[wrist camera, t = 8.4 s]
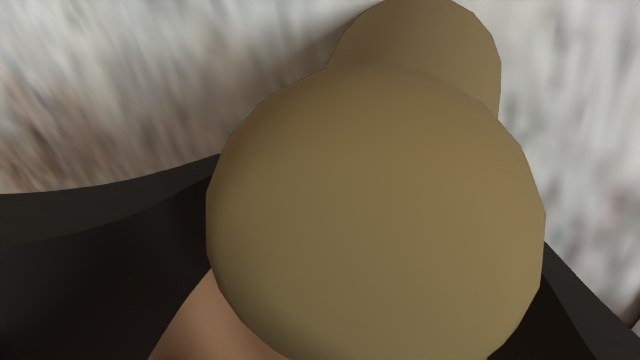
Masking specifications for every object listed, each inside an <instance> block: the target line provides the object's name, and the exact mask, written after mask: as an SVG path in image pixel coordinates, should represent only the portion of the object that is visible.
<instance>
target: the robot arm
mask: <svg viewBox="0 0 640 360" xmlns="http://www.w3.org/2000/svg"><path fill="white" fill-rule="evenodd" d="M220 155H221V153H220V154H217V155H213V156H210V157H207V158H204V159H201V160H198V161H195V162H191V163H188V164H185V165H182V166H179V167H176V168H172V169H168V170H165V171H161V172H157V173H154V174H150V175H146V176H143V177H139V178H134V179H130V180H125V181H120V182H115V183H110V184H104V185H98V186H92V187H83V188H75V189H67V190H59V191H49V192H35V193H17V194H0V360H148V358H149V356H150V355H151V353H152V351H153V350H154V348H155V347H156V345H157V343H158V342H159V340H160V338H161V337H162V335H163V334H164V332H165V330H166V329H167V327H168V326H169V324H170V323H171V321H172V320H173V318H174V316H175V315H176V313H177V312H178V310H179V309H180V307H181V306H182V304H183V303H184V302H185V300H186V299H187V298H188V296H189V295H190V294H191V292H192V291H193V290H194V289H195V287H196V286H197V285H198V284H199V282H200V281H201V280H202V279H203V278H204V276H205V275H206V274H207V273H208V271H209V270H210V269H211V265H210V262H209V259H208V257H207V250H206V192H207V189H208V187H209V184H210V181H211V179H212V176H213V173H214V171H215V168H216V166H217V163H218V160H219V158H220ZM487 360H640V319H639V321H638V322H637V323H636V324H635V326H634V327H633V328H632V329H630V328H629V327H628V326H626V325H625V324H624V323H623V322H622V321H621V320H620V319H619V318H618V317H617V316H616V315H615V314H614V313H613V312H612V311H611V310H610V309H609V308H608V307H607V306H606V305H605V304H604V303H603V302H602V301H601V300H600V299H599V298H598V297H597V296H596V295H595V294H594V293H593V292H592V291H591V290H590V289H589V288H588V287H587V286H586V285H585V284H584V283H583V282H582V281H581V280H580V279H579V278H578V277H577V276H576V274H575V273H574V272H573V271H572V270H571V269H570V268H569V267H568V266H567V265H566V264H565V263H564V261H563V260H562V259H561V258H560V257H559V256H558V255H557V254H556V253H555V252H554V251H553V250H552V248H551V247H550V246H549V245H548V244H547V243H546V242H545V241H544V247H543V261H542V270H541V279H540V287H539V289H538V291H537V292H536V294H535V296H534V298H533V300H532V302H531V303H530V305H529V307H528V309H527V311H526V312H525V314H524V316H523V318H522V320H521V322H520V323H519V325H518V327H517V328H516V329H515V331H514V332H513V333H512V334H511V335H510V337H509V338H508V339H507V340H506V341H505V343H504V344H503V345H502V346H501V347H499V348H498V349H497V350H496V351H494V352H493V353H492V354H491V355H489V356H488V357H487Z"/></svg>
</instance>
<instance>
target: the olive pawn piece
mask: <svg viewBox="0 0 640 360" xmlns="http://www.w3.org/2000/svg"><path fill="white" fill-rule="evenodd" d="M500 93H501V60H500V57H499V54H498V52H497V49H496V46H495V43H494V40H493V37H492V35H491V34H490V32H489V31H488V30H487V29H486V28H485V26H484V25H483V24H482V23H481V22H480V20H479V19H478V18H477V17H476V15H475V14H474V13H473V12H471V11H469V10H467V9H466V8H464V7H462V6H460V5H459V4H457V3H455V2H453V1H452V0H385V1H383V2H381V3H379V4H377V5H375V6H373V7H371V8H370V9H368V10H366V11H364V12H363V13H362V14H361V15H360V16H359V17H358V18H357V19H356V20H355V21H354V22H353V23H352V24H351V25H350V26H349V27H348V28H347V29H346V30H345V32H344V33H343V35H342V37H341V39H340V41H339V42H338V44H337V46H336V48H335V50H334V52H333V54H332V56H331V58H330V59H329V61H328V63H327V65H326V67H325V69H321V70H319V71H317V72H315V73H313V74H311V75H309V76H307V77H305V78H303V79H301V80H299V81H297V82H295V83H293V84H291V85H289V86H287V87H285V88H283V89H281V90H278V91H277V92H275V93H274V94H272V95H271V96H269V97H268V98H266V99H265V100H263V101H262V102H261V103H260V104H259V105H258V106H257V108H256V109H255V110H254V111H253V112H252V113H251V114H250V115H249V116H248V117H247V118H246V119H245V120H244V122H243V123H242V124H241V125H240V126H239V127H238V128H237V129H236V130H235V131H234V132H233V133H232V134H231V136H230V138H229V140H228V141H227V143H226V145H225V147H224V149H223V151H222V153H221V155H220V158H219V160H218V163H217V166H216V168H215V171H214V173H213V176H212V179H211V181H210V184H209V187H208V189H207V192H206V250H207V257H208V259H209V262H210V265H211V268H212V271H213V274H214V277H215V280H216V283H217V285H218V288H219V290H220V292H221V293H222V295H223V296H224V298H225V299H226V301H227V302H228V303H229V305H230V306H231V308H232V309H233V311H234V312H235V313H236V315H237V316H238V318H239V319H240V321H241V322H242V323H243V324H244V325H245V326H247V327H248V328H249V329H250V330H251V331H252V332H253V333H254V334H255V335H257V336H258V337H259V338H260V339H261V340H262V341H263V342H264V343H265V344H266V345H268V346H269V347H270V348H271V349H273V350H274V351H276V352H278V353H279V354H281V355H283V356H285V357H286V358H288V359H290V360H484V359H486V358H487V357H488V356H489V355H491V354H492V353H493V352H494V351H496V350H497V349H498V348H499V347H501V346H502V345H503V344H504V343H505V341H506V340H507V339H508V338H509V337H510V335H511V334H512V333H513V332H514V331H515V329H516V328H517V327H518V325H519V323H520V322H521V320H522V318H523V316H524V314H525V312H526V311H527V309H528V307H529V305H530V303H531V302H532V300H533V298H534V296H535V294H536V292H537V291H538V289H539V287H540V279H541V270H542V261H543V247H544V234H545V221H546V213H545V210H544V207H543V204H542V201H541V198H540V195H539V193H538V190H537V187H536V184H535V181H534V178H533V175H532V173H531V170H530V167H529V164H528V162H527V159H526V157H525V155H524V153H523V150H522V148H521V146H520V145H519V144H518V142H517V141H516V140H515V139H514V138H513V137H512V135H511V134H510V133H509V132H508V131H507V130H506V128H505V127H504V126H503V125H502V124H501V123H500V121H499V120H498V111H499V102H500Z"/></svg>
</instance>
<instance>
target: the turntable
mask: <svg viewBox="0 0 640 360" xmlns="http://www.w3.org/2000/svg"><path fill="white" fill-rule="evenodd" d="M148 360H290V359H288V358H286V357H285V356H283V355H281V354H279V353H278V352H276V351H274V350H273V349H271V348H270V347H269V346H268V345H266V344H265V343H264V342H263V341H262V340H261V339H260V338H259V337H258V336H257V335H255V334H254V333H253V332H252V331H251V330H250V329H249V328H248V327H247V326H245V325H244V324H243V323H242V322H241V321H240V319H239V318H238V316H237V315H236V313H235V312H234V311H233V309H232V308H231V306H230V305H229V303H228V302H227V301H226V299H225V298H224V296H223V295H222V293H221V292H220V290H219V288H218V285H217V283H216V280H215V277H214V274H213V271H212V268H211V269H210V270H209V271H208V273H207V274H206V275H205V276H204V278H203V279H202V280H201V281H200V282H199V284H198V285H197V286H196V287H195V289H194V290H193V291H192V292H191V294H190V295H189V296H188V298H187V299H186V300H185V302H184V303H183V304H182V306H181V307H180V309H179V310H178V312H177V313H176V315H175V316H174V318H173V320H172V321H171V323H170V324H169V326H168V327H167V329H166V330H165V332H164V334H163V335H162V337H161V338H160V340H159V342H158V343H157V345H156V347H155V348H154V350H153V351H152V353H151V355H150V356H149V358H148ZM484 360H487V358H486V359H484Z"/></svg>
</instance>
